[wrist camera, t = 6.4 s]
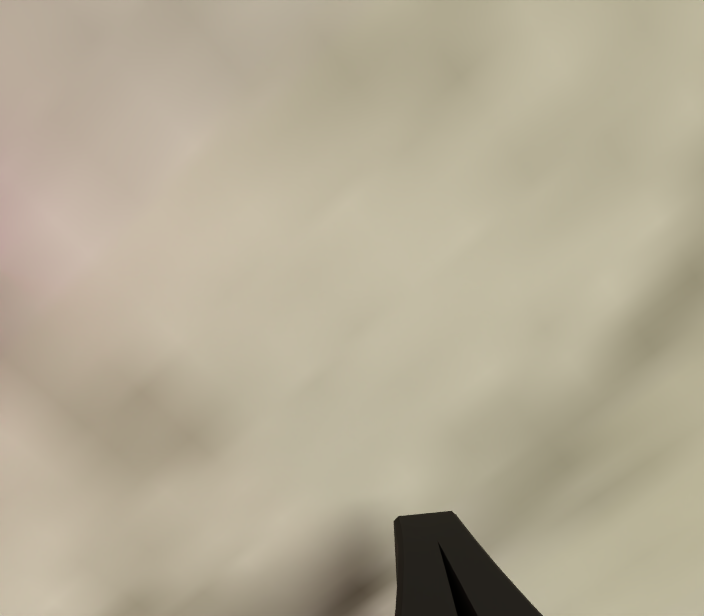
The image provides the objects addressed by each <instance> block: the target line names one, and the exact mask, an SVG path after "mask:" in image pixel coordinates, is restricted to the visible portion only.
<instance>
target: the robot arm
mask: <svg viewBox="0 0 704 616" xmlns="http://www.w3.org/2000/svg"><path fill="white" fill-rule="evenodd" d="M394 536H395V556H396V576H397V596H396V610H395V616H543V615H542V614H541V613H540V612H539V611H538V610H537V609H536V608H535V607H534V606H533V605H532V604H531V603H530V602H529V600H528V599H527V598H526V597H525V596H524V595H523V594H522V593H521V592H520V591H519V589H518V588H517V587H516V586H515V585H514V584H513V583H512V582H511V581H510V579H509V578H508V577H507V576H506V575H505V574H504V573H503V572H502V570H501V569H500V568H499V567H498V566H497V565H496V564H495V562H494V561H493V560H492V559H491V558H490V556H489V555H488V554H487V553H486V552H485V550H484V549H483V548H482V547H481V546H480V544H479V543H478V542H477V541H476V540H475V538H474V537H473V536H472V535H471V533H470V532H469V531H468V530H467V528H466V527H465V526H464V524H463V523H462V522H461V521H460V519H459V518H458V517H457V515H456V514H454V513H453V512H452V511H446V512H436V513H426V514H416V515H406V516H398V517H397V518H396V519H395V520H394Z"/></svg>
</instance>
